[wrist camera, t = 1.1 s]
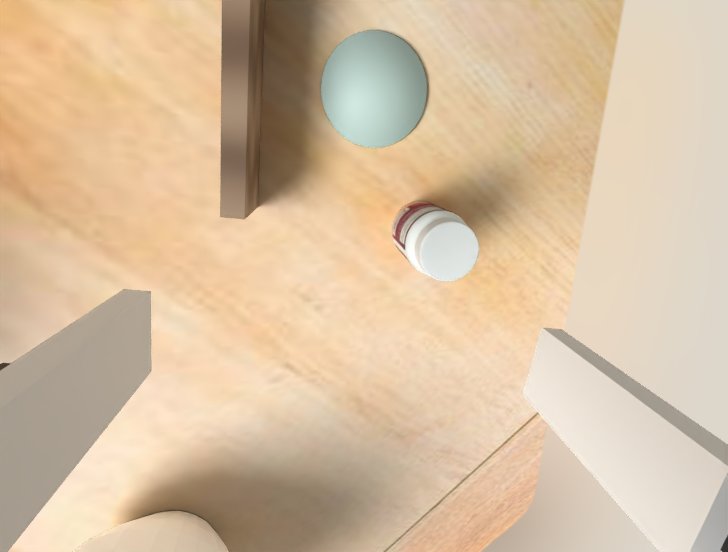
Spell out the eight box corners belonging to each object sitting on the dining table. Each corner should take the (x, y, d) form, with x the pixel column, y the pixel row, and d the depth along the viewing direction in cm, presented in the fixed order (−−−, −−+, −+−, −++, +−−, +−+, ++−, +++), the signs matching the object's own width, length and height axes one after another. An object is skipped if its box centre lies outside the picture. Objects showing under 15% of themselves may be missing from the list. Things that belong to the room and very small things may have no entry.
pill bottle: (451, 243, 34) (493, 271, 26) (401, 264, 34) (427, 298, 26) (435, 191, 32) (474, 204, 24) (382, 213, 32) (403, 232, 24)
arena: (245, -123, 25) (223, -205, 19) (502, -67, 27) (551, -125, 21) (238, 205, 31) (220, 217, 25) (449, 225, 33) (477, 240, 27)
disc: (325, 22, 28) (325, 21, 27) (433, 41, 29) (435, 39, 28) (316, 141, 30) (316, 140, 30) (417, 153, 31) (418, 153, 31)
